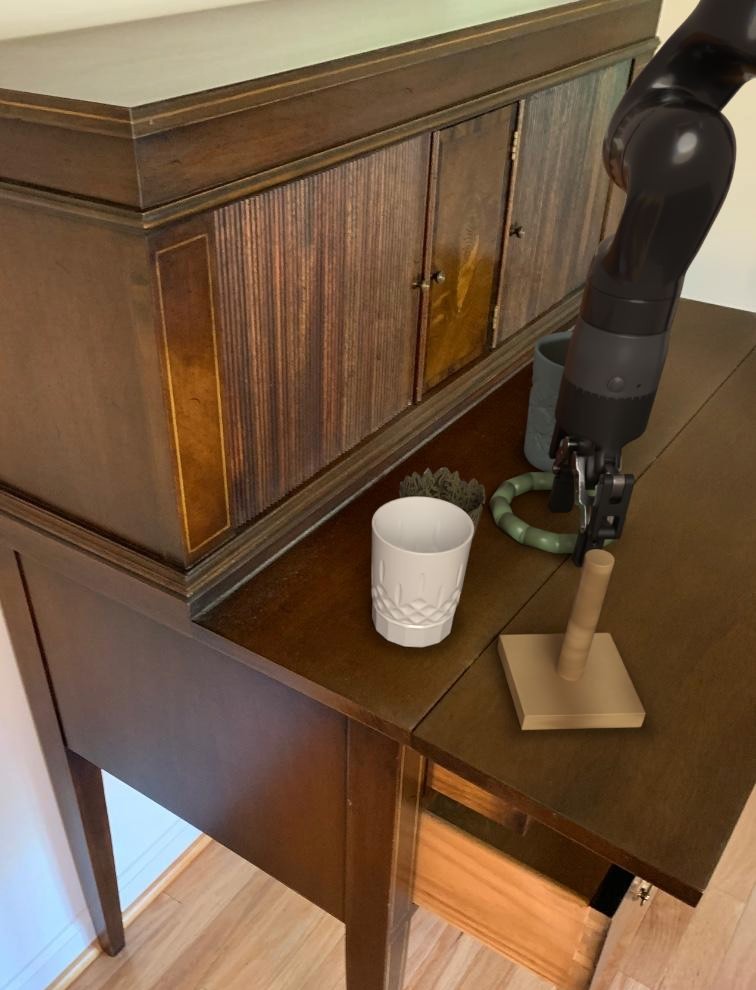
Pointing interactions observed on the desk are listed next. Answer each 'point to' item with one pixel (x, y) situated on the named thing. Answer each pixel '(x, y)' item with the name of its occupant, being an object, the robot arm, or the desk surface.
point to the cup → (447, 491)
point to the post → (572, 666)
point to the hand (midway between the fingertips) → (571, 536)
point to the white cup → (418, 568)
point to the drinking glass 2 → (545, 397)
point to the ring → (519, 527)
